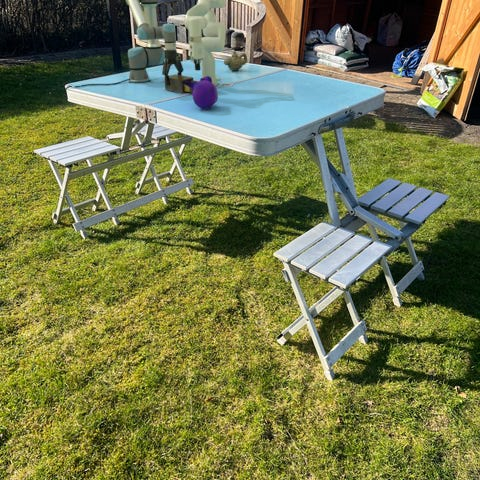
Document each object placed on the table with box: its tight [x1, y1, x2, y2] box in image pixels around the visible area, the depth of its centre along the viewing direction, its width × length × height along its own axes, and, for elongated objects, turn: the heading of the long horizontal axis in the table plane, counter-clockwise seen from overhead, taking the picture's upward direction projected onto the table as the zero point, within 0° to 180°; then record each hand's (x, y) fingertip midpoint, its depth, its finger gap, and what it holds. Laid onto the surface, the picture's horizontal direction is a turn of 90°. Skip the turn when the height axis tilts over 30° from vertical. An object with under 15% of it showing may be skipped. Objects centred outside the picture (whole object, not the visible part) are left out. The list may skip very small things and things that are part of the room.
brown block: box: [163, 73, 194, 94], centre depth 307 cm, size 17×11×8 cm, turn 53°
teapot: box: [223, 50, 248, 72], centre depth 366 cm, size 21×12×15 cm, turn 120°
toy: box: [181, 76, 219, 110], centre depth 265 cm, size 16×18×27 cm
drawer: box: [183, 79, 200, 95], centre depth 301 cm, size 21×10×6 cm, turn 53°
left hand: (174, 83), depth 309 cm, fingers closed on brown block, 11 cm apart
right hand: (197, 70), depth 292 cm, fingers closed
